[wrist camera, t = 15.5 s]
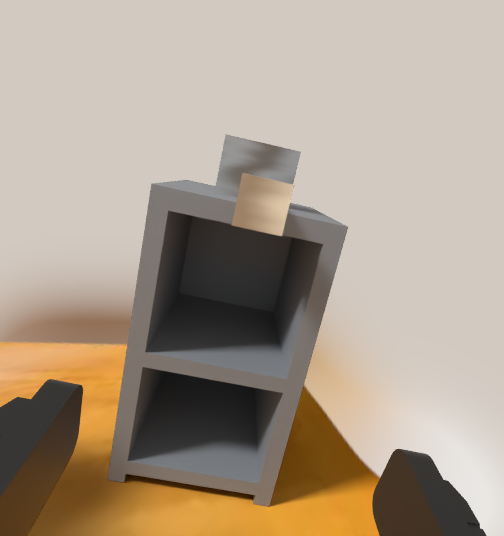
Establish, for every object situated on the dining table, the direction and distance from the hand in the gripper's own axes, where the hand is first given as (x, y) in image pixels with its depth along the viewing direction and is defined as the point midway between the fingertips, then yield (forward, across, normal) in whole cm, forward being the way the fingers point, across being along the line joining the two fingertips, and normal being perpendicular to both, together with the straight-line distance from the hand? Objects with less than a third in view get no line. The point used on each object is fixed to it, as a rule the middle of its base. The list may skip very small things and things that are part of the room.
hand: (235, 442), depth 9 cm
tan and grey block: (+25, 0, -1) cm, 25 cm away
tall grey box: (+32, -1, +32) cm, 45 cm away
